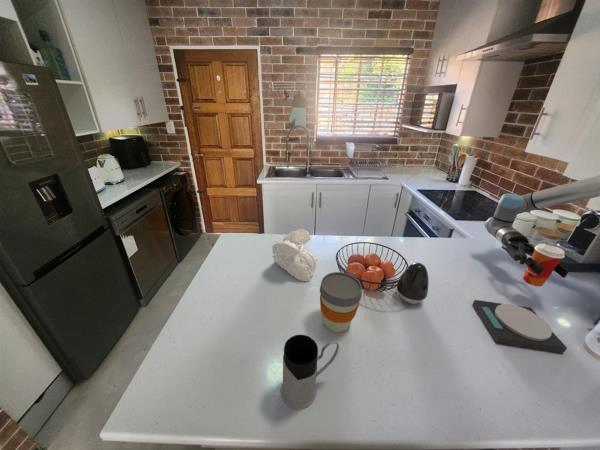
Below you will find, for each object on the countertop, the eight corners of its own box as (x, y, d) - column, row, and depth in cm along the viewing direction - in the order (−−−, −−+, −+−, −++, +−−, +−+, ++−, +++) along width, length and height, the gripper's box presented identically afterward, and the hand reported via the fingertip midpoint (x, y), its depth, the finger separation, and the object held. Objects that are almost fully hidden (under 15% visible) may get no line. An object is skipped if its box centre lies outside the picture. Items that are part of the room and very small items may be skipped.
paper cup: (518, 272, 94) (534, 240, 88) (544, 280, 90) (564, 247, 84) (519, 282, 88) (537, 249, 82) (548, 291, 85) (569, 257, 78)
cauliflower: (320, 272, 88) (278, 235, 89) (291, 300, 98) (254, 267, 100) (334, 249, 104) (299, 218, 105) (308, 275, 114) (277, 247, 116)
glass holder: (276, 379, 63) (275, 338, 56) (326, 360, 68) (331, 321, 61) (287, 415, 56) (288, 374, 49) (342, 392, 60) (350, 351, 54)
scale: (527, 312, 86) (532, 305, 85) (562, 353, 72) (569, 345, 71) (472, 305, 89) (475, 297, 87) (495, 343, 75) (500, 335, 73)
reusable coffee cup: (333, 343, 72) (338, 305, 66) (309, 315, 82) (312, 279, 75) (364, 326, 79) (372, 289, 72) (338, 301, 88) (343, 267, 81)
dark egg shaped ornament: (388, 292, 93) (396, 259, 86) (409, 285, 97) (418, 253, 90) (408, 311, 85) (419, 276, 78) (430, 303, 89) (443, 269, 82)
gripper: (534, 249, 102) (580, 285, 82) (482, 244, 105) (515, 278, 84) (542, 233, 99) (593, 267, 78) (489, 228, 102) (525, 259, 81)
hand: (553, 272), depth 82 cm, fingers closed on paper cup, 7 cm apart
